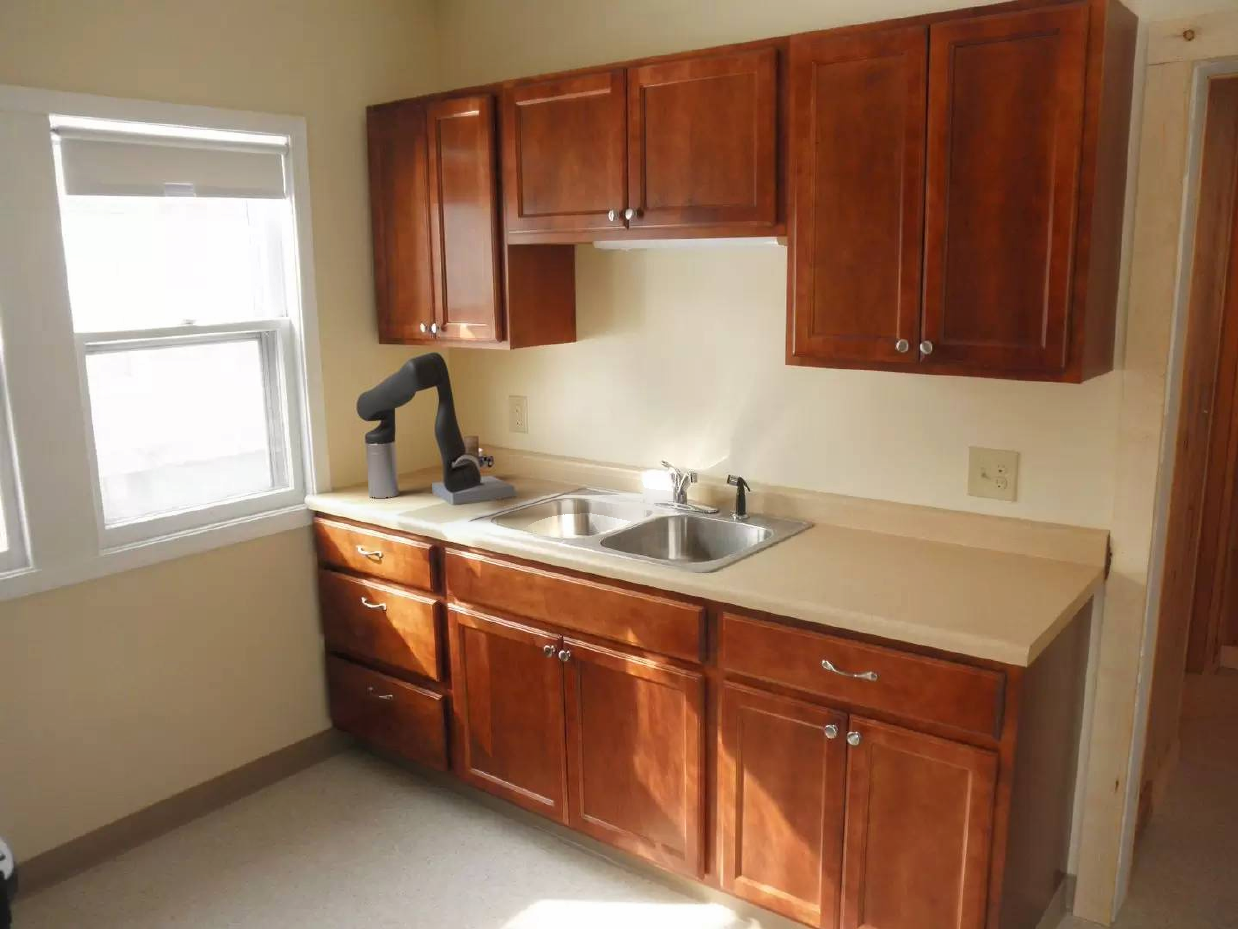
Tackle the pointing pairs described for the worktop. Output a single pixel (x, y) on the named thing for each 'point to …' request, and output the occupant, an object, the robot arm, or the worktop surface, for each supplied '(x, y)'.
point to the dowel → (472, 445)
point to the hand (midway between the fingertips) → (471, 458)
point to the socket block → (476, 491)
